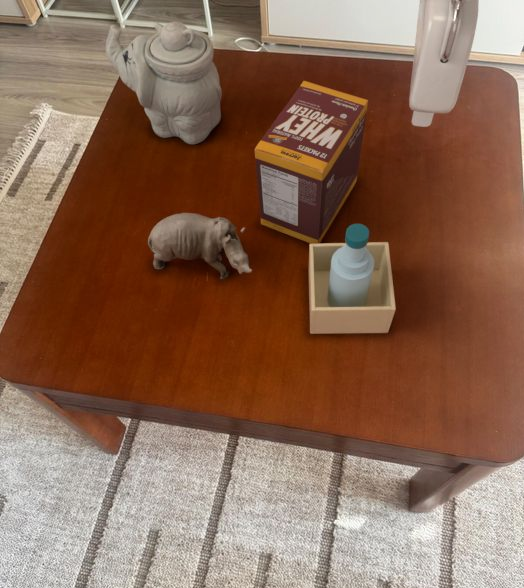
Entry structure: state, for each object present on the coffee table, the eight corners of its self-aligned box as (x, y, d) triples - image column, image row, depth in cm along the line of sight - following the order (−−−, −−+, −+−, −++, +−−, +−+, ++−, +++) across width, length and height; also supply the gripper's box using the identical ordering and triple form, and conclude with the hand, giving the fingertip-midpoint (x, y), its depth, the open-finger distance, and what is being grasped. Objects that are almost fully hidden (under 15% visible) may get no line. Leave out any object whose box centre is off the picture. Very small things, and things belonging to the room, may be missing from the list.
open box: (381, 269, 79) (388, 241, 74) (387, 332, 75) (395, 309, 69) (308, 270, 80) (309, 243, 74) (310, 333, 75) (311, 310, 69)
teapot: (124, 111, 98) (89, 8, 82) (196, 82, 101) (176, -24, 84) (160, 166, 92) (129, 66, 75) (236, 133, 94) (223, 28, 77)
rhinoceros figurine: (149, 217, 83) (184, 175, 70) (223, 258, 89) (268, 226, 76) (131, 259, 80) (165, 223, 68) (209, 298, 86) (253, 272, 73)
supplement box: (358, 180, 88) (370, 98, 74) (318, 247, 82) (323, 172, 68) (302, 161, 90) (303, 78, 76) (259, 224, 85) (253, 148, 71)
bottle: (364, 282, 78) (379, 213, 65) (367, 314, 75) (383, 250, 62) (326, 283, 78) (333, 214, 65) (328, 315, 76) (335, 251, 62)
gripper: (510, 8, 34) (453, 168, 47) (507, -142, 43) (459, 26, 55) (411, 2, 35) (381, 161, 47) (428, -143, 44) (399, 23, 56)
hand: (423, 88), depth 52 cm, fingers open, 8 cm apart
